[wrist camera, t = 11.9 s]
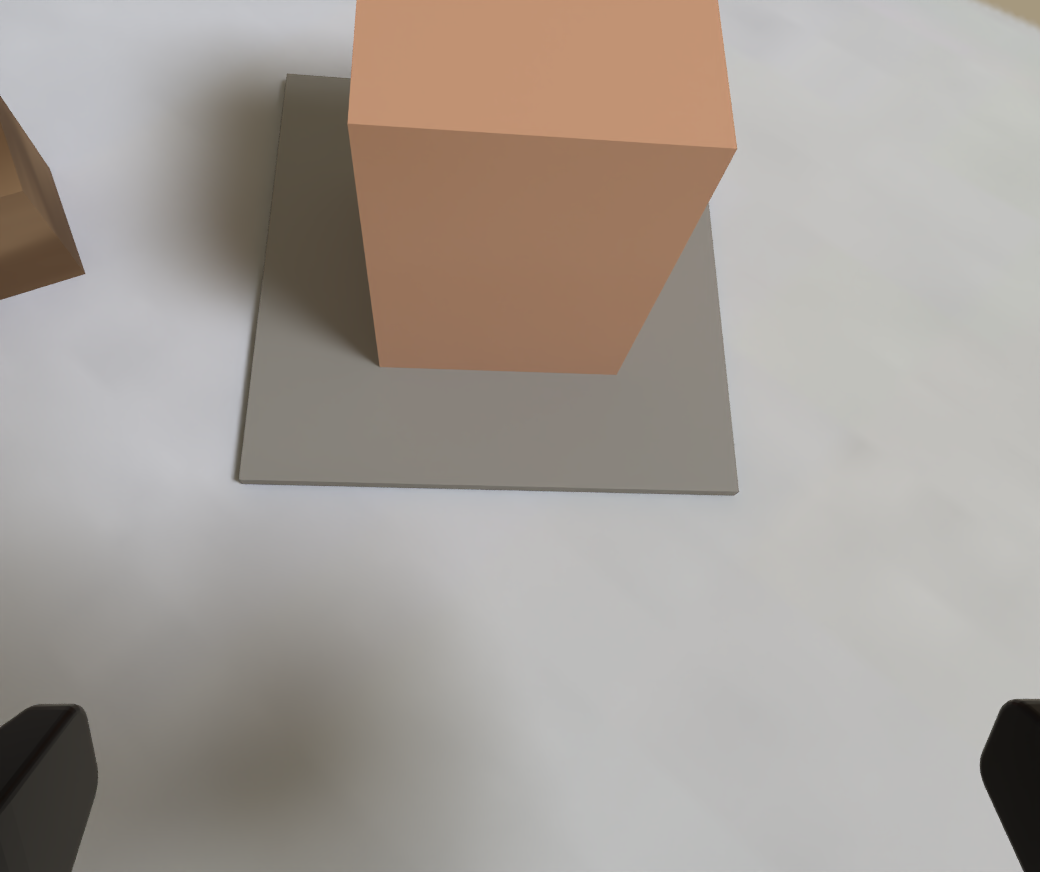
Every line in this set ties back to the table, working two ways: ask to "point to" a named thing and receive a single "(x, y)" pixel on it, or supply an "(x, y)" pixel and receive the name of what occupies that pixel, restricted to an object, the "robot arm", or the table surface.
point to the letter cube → (30, 217)
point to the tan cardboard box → (530, 172)
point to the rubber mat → (459, 393)
